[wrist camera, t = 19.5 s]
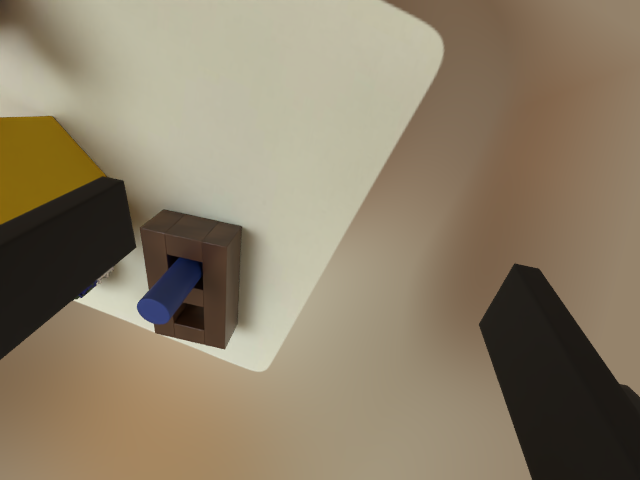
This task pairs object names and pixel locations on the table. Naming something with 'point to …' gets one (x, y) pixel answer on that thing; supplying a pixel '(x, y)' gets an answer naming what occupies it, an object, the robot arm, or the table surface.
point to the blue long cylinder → (170, 291)
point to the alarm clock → (38, 164)
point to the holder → (213, 287)
